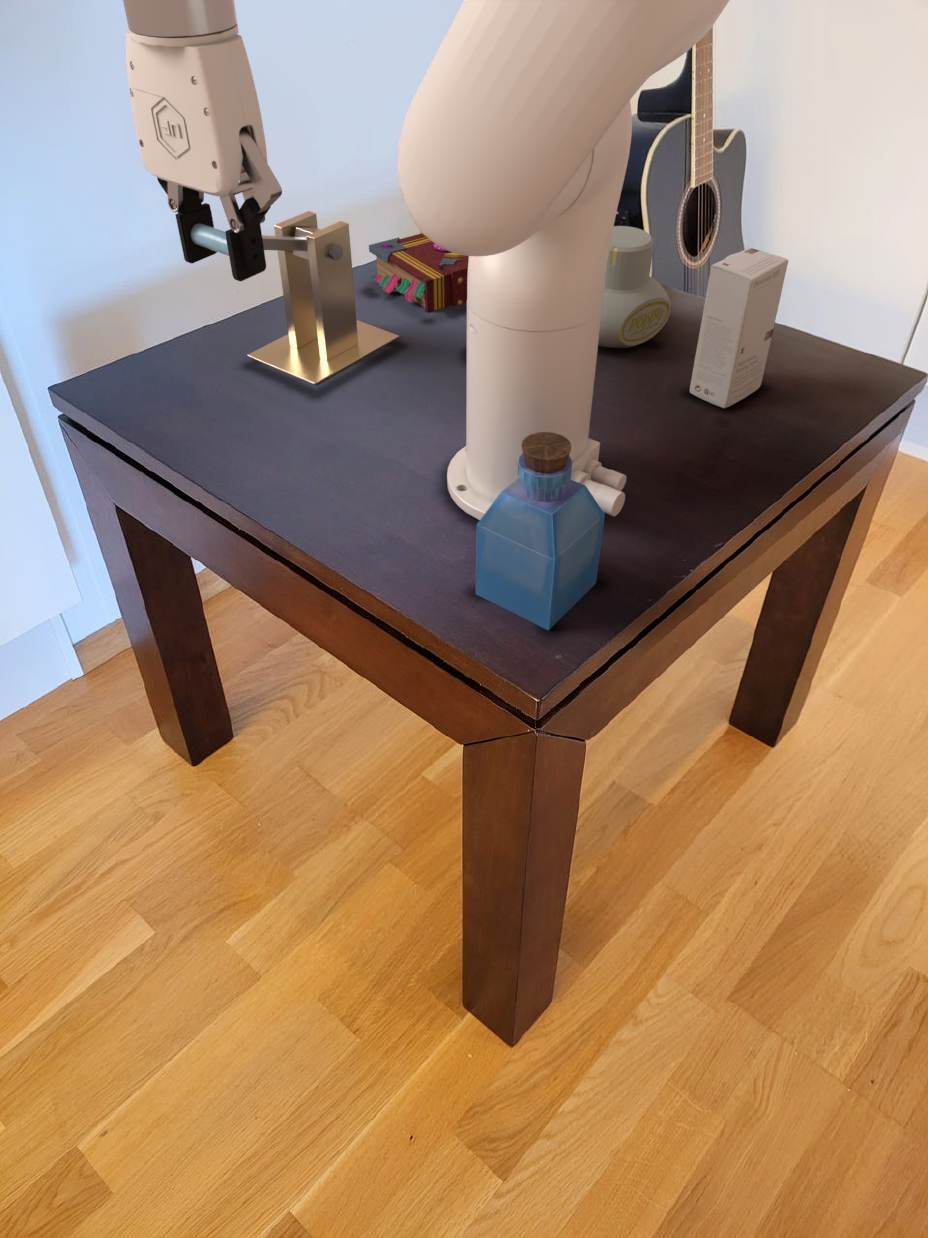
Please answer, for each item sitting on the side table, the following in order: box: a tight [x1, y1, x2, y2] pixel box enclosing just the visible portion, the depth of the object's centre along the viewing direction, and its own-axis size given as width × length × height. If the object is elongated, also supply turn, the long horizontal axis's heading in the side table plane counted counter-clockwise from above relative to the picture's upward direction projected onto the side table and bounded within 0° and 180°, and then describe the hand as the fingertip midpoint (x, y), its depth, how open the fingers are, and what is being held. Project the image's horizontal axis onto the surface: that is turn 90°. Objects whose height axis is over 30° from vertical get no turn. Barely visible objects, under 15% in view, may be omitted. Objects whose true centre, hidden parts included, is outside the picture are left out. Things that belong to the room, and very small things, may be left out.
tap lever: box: [191, 223, 322, 260], centre depth 81 cm, size 13×5×2 cm, turn 142°
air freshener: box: [598, 225, 672, 349], centre depth 93 cm, size 11×8×10 cm
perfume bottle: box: [475, 432, 606, 632], centre depth 64 cm, size 6×6×12 cm
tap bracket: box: [246, 210, 400, 387], centre depth 89 cm, size 12×9×13 cm
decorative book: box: [368, 229, 469, 313], centre depth 103 cm, size 11×16×5 cm
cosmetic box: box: [689, 247, 789, 409], centre depth 84 cm, size 6×4×12 cm
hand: (225, 263), depth 79 cm, fingers closed on tap lever, 5 cm apart
